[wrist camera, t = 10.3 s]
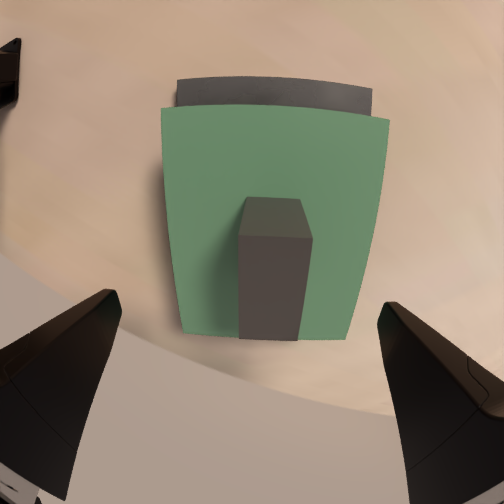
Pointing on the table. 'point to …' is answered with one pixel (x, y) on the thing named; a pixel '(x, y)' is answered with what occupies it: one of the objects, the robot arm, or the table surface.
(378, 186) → the board
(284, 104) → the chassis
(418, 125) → the table surface
